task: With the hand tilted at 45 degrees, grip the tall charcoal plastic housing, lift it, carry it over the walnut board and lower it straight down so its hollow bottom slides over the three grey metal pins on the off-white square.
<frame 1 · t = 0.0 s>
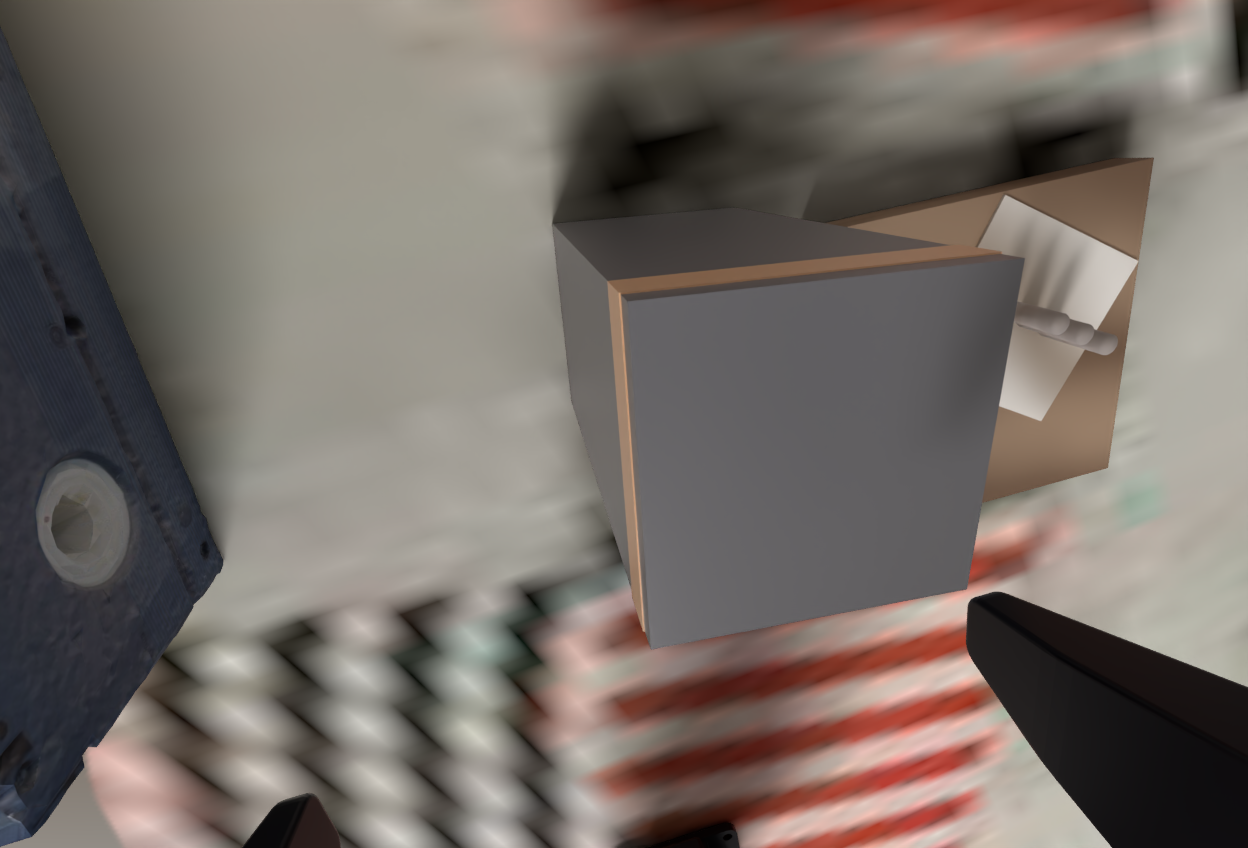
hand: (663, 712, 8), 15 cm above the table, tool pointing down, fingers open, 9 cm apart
vhs cassette tape: (80, 315, 19), on the table
housing: (650, 307, 21), on the table
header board: (955, 354, 24), on the table
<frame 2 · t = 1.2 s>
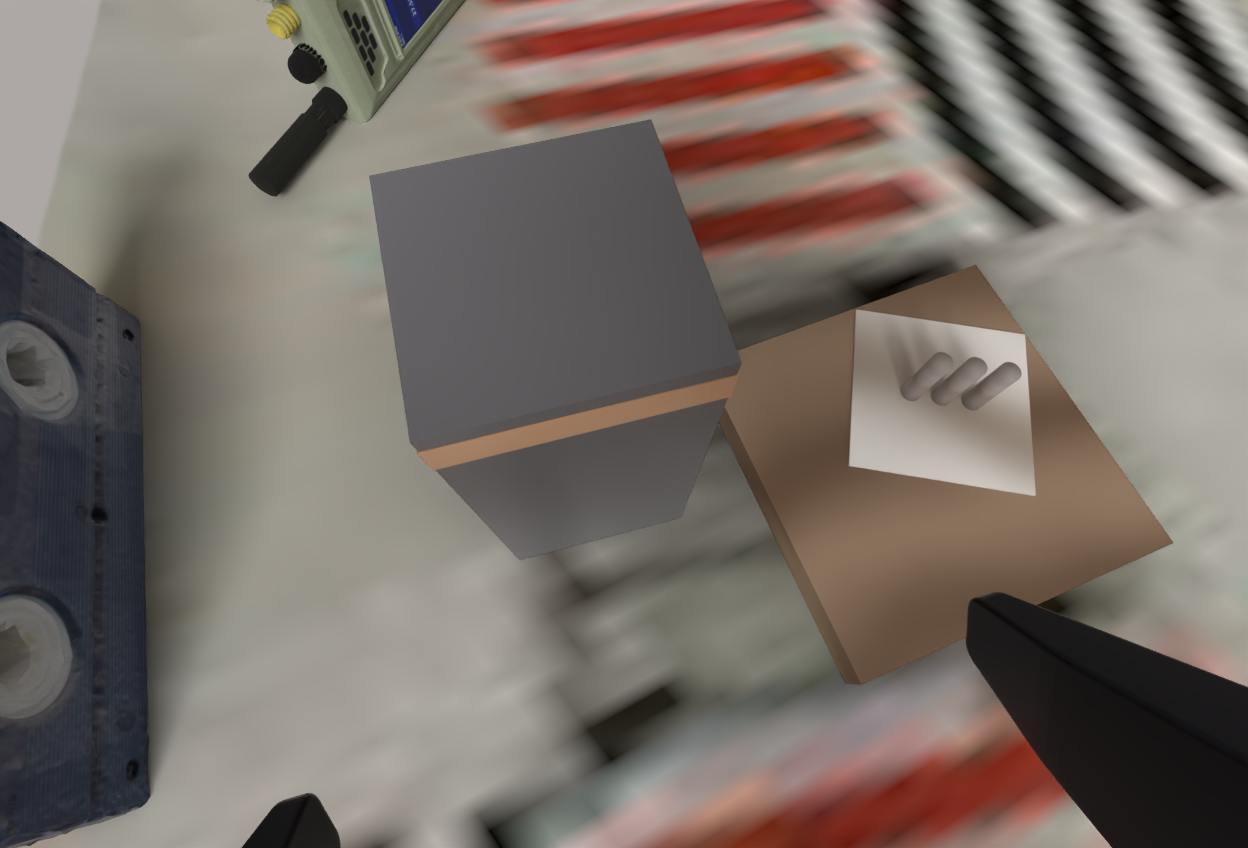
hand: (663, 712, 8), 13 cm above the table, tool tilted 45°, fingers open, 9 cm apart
handheld radio: (421, 33, 33), on the table
vhs cassette tape: (115, 540, 23), on the table
housing: (581, 462, 24), on the table
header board: (908, 461, 24), on the table
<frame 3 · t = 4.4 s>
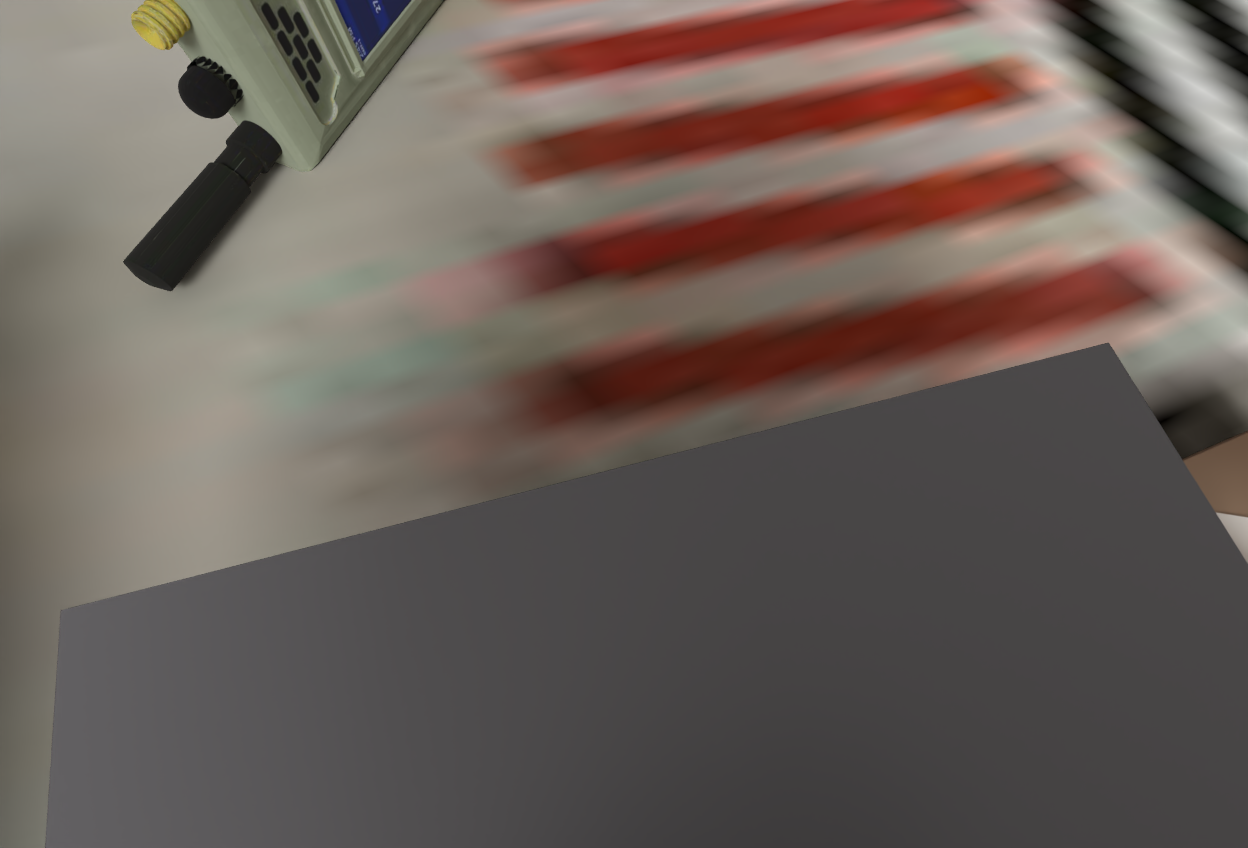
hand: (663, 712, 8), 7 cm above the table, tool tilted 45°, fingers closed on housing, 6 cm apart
handheld radio: (391, 39, 23), on the table
housing: (662, 764, 14), on the table, touching gripper
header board: (1214, 760, 14), on the table
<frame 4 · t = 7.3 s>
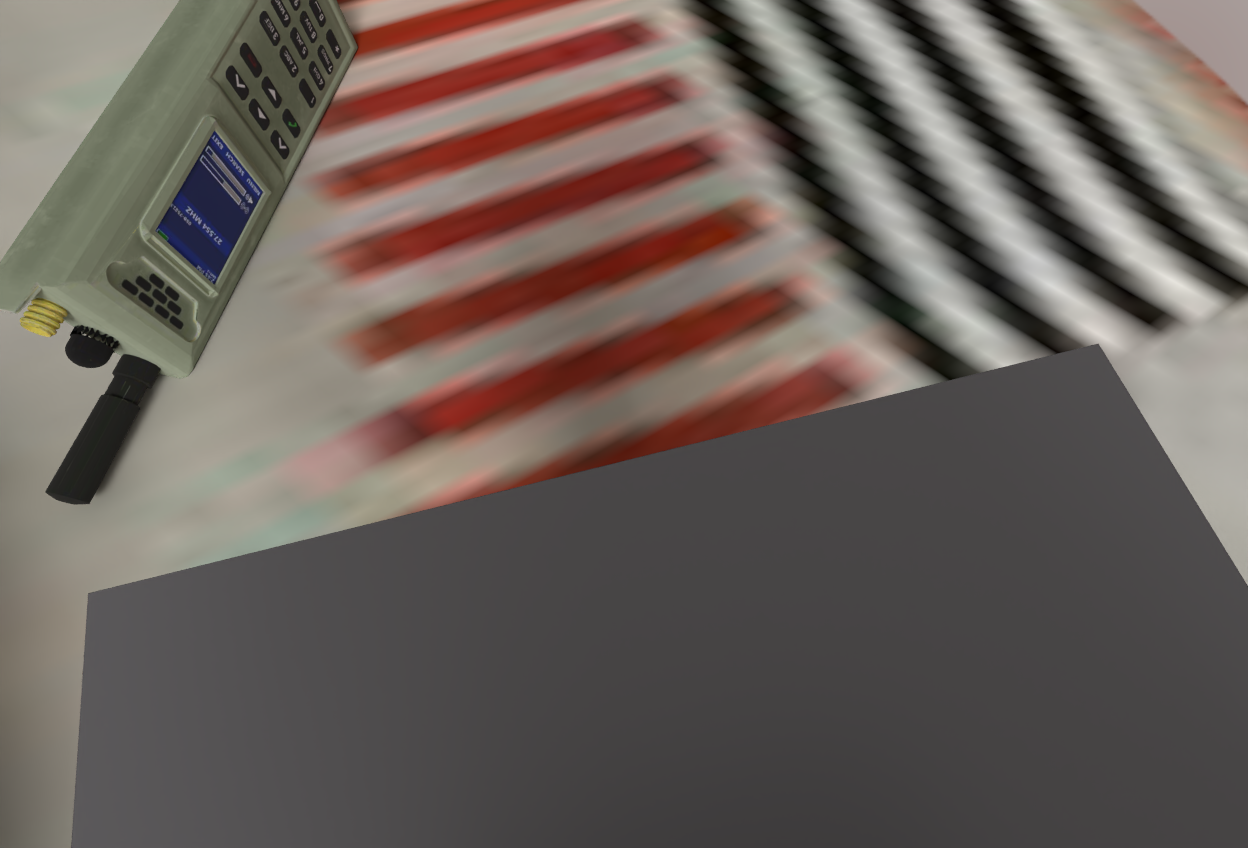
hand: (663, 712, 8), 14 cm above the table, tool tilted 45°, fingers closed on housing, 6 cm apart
handheld radio: (238, 243, 28), on the table
housing: (667, 762, 14), point 7 cm above the table, touching gripper
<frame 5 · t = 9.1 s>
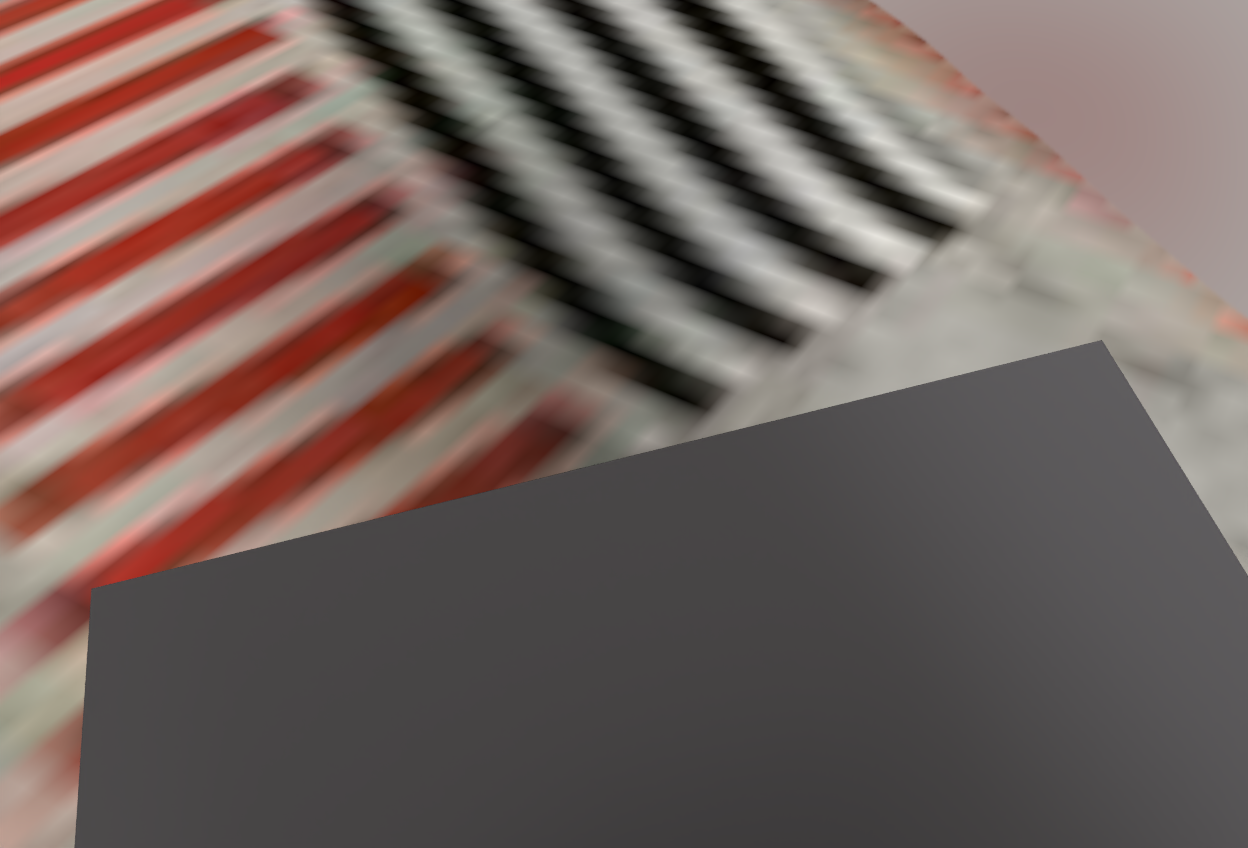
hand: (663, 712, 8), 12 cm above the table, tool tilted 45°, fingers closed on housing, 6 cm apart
housing: (668, 761, 14), point 6 cm above the table, touching gripper
when the fingers open (9 cm above the table, at t = 10.3 s): housing stays where it is, resting on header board.
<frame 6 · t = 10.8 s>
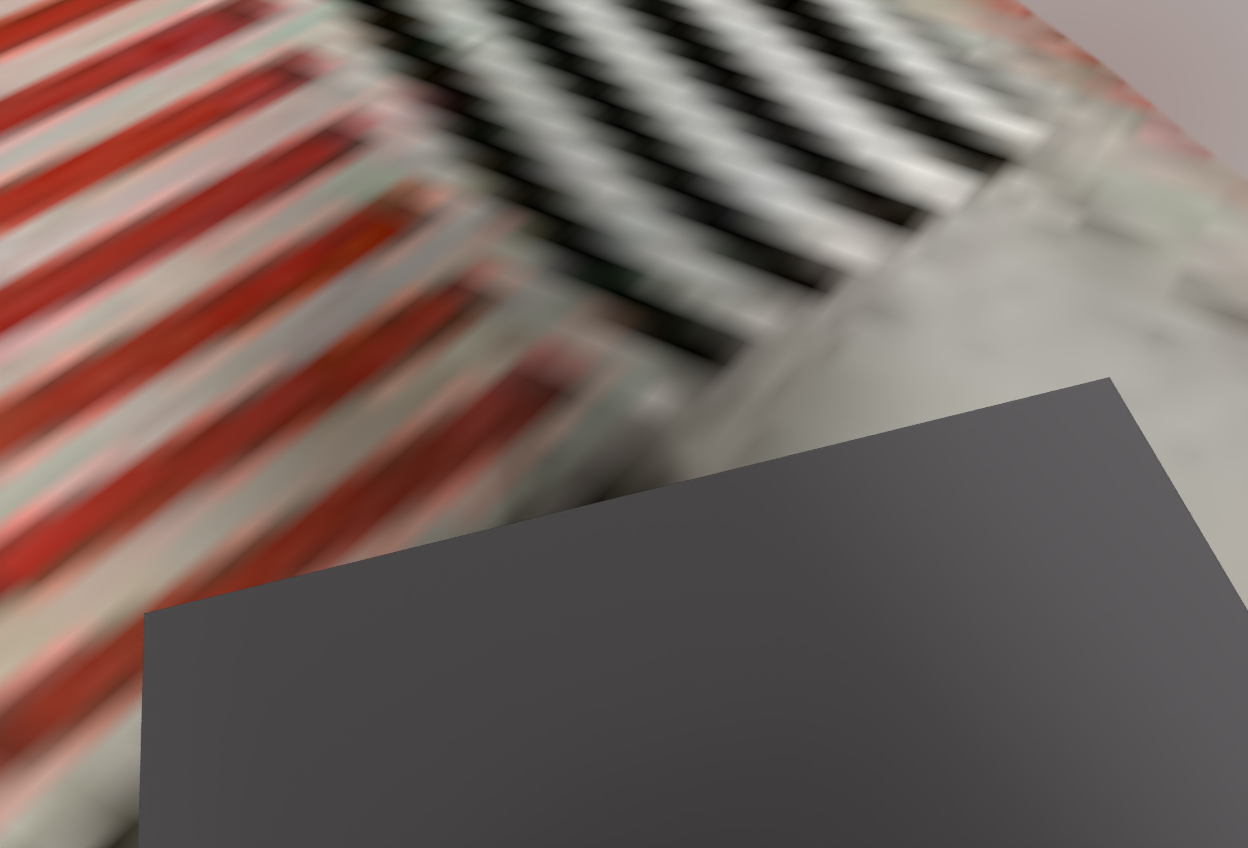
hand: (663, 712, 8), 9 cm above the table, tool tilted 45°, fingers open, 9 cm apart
housing: (664, 760, 14), point 2 cm above the table, touching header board
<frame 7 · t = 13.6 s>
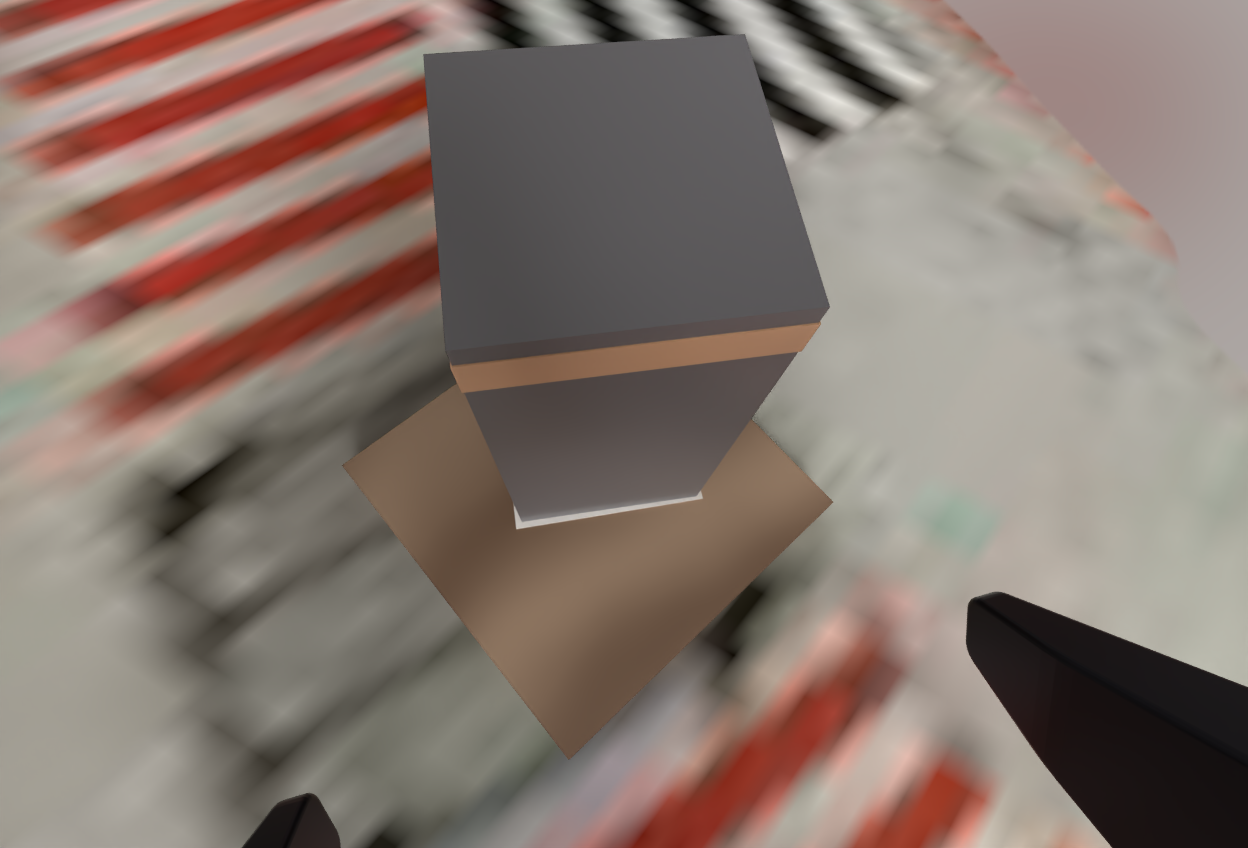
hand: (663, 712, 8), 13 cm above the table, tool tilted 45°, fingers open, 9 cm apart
housing: (597, 426, 22), point 2 cm above the table, touching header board
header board: (590, 494, 23), on the table
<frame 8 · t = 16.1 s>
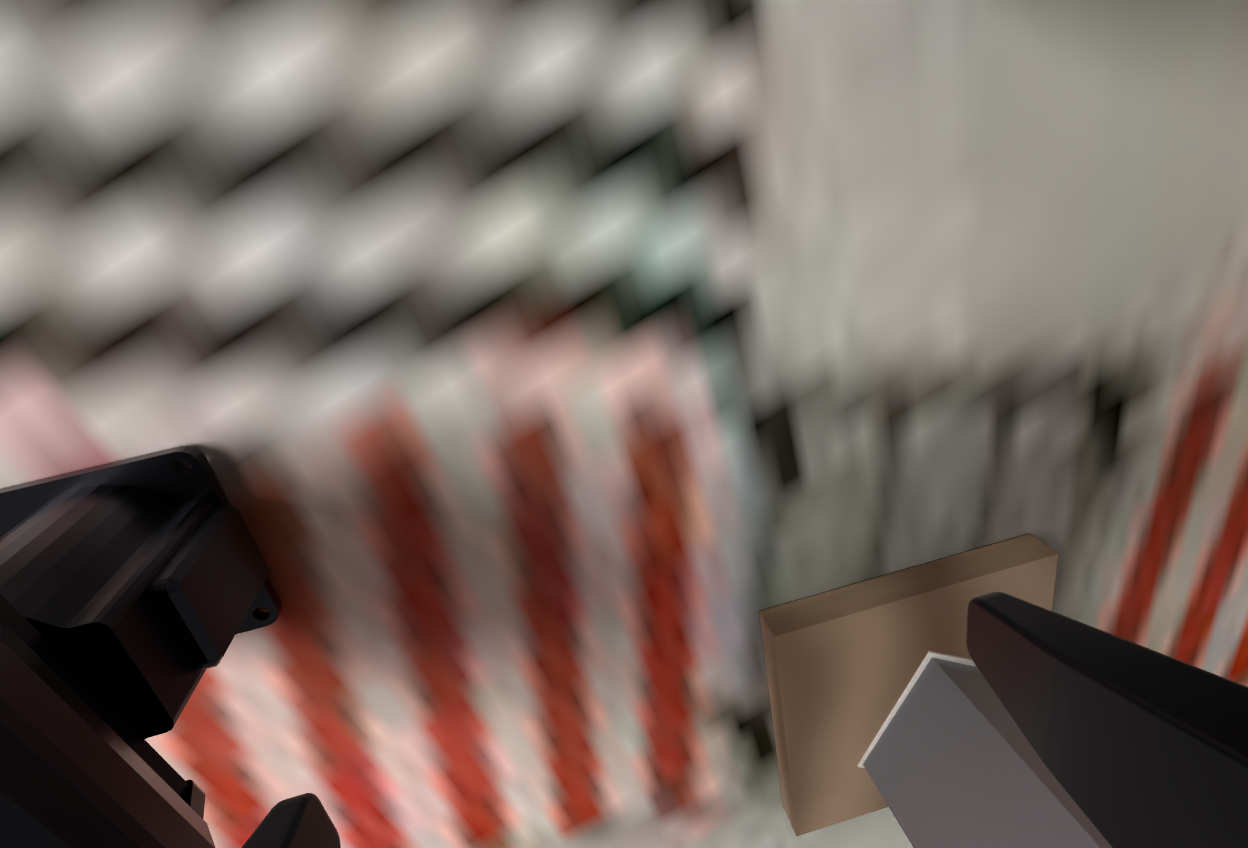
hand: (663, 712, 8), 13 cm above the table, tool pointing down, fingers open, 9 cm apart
housing: (949, 721, 28), point 2 cm above the table, touching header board
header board: (898, 678, 28), on the table
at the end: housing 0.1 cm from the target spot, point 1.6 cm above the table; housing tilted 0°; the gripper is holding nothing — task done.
